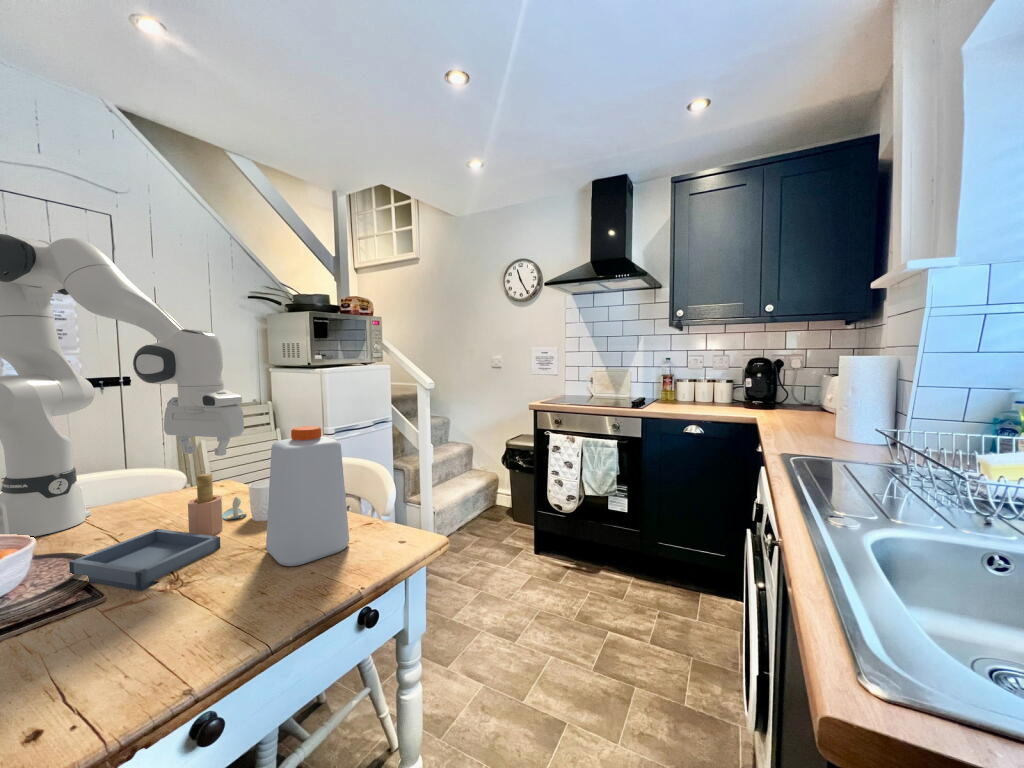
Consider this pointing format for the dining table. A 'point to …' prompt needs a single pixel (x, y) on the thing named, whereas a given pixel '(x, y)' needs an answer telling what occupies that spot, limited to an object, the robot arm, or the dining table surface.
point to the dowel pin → (204, 488)
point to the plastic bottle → (306, 498)
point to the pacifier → (234, 510)
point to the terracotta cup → (205, 516)
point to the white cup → (259, 499)
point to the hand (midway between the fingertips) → (204, 454)
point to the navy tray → (143, 558)
